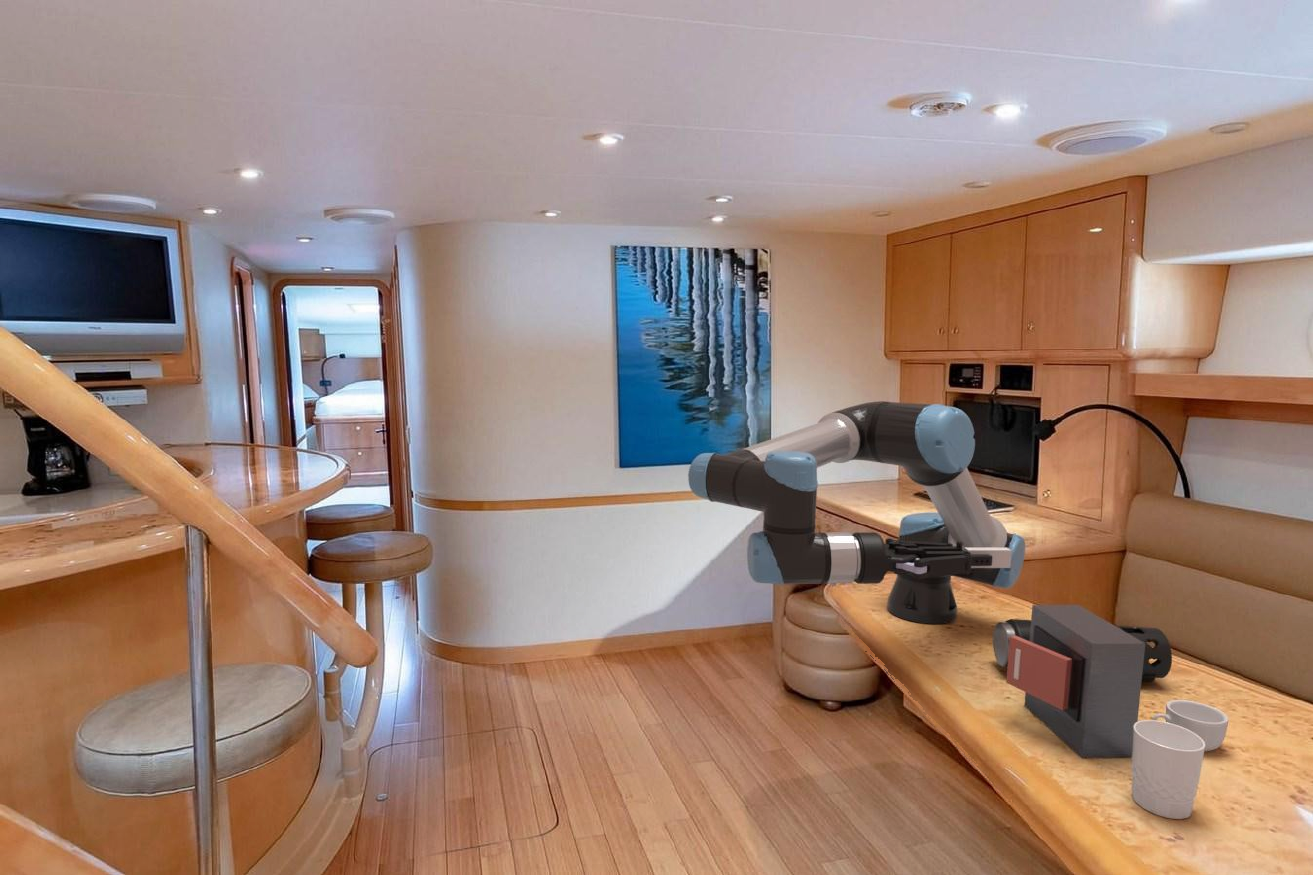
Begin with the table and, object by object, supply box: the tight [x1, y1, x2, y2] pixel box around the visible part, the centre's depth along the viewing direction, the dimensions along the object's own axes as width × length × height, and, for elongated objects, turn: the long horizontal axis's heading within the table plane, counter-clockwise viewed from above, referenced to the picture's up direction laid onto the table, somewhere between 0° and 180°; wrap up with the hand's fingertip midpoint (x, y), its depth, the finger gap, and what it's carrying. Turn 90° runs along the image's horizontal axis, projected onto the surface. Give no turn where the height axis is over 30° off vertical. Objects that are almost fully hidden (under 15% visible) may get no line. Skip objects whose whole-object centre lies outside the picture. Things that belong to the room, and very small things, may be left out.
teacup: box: [1152, 699, 1229, 752], centre depth 114 cm, size 10×8×5 cm
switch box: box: [1023, 604, 1145, 759], centre depth 116 cm, size 16×8×18 cm, turn 2°
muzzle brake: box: [992, 618, 1173, 682], centre depth 136 cm, size 10×28×10 cm, turn 84°
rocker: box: [1006, 635, 1072, 710], centre depth 116 cm, size 10×1×8 cm, turn 26°
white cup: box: [1131, 719, 1205, 820], centre depth 98 cm, size 8×8×10 cm
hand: (1008, 557), depth 109 cm, fingers closed
